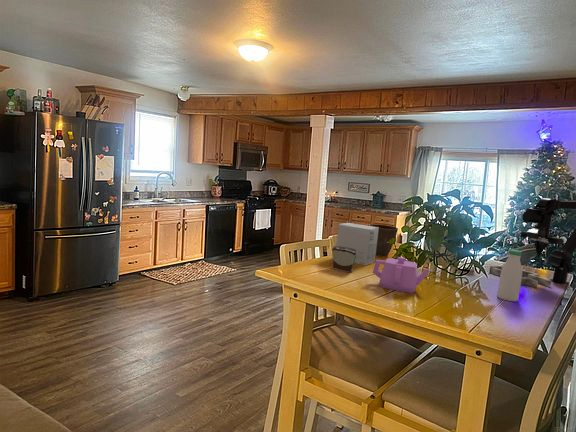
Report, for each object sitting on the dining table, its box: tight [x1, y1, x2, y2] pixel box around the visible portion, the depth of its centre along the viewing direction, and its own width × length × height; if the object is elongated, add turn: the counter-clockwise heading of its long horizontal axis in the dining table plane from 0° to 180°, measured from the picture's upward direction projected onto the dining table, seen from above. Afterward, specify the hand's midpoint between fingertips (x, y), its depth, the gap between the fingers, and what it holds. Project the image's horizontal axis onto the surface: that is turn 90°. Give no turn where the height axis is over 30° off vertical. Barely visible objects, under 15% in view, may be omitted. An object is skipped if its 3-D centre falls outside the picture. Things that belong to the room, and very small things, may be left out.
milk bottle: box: [496, 249, 523, 302], centre depth 169 cm, size 8×8×20 cm
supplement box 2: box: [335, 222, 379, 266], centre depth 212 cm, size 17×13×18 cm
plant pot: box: [370, 224, 399, 257], centre depth 233 cm, size 15×15×16 cm
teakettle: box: [372, 256, 431, 294], centre depth 170 cm, size 17×17×12 cm
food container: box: [331, 245, 358, 274], centre depth 191 cm, size 12×6×10 cm, turn 58°
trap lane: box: [489, 265, 552, 288], centre depth 207 cm, size 25×21×4 cm
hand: (538, 254), depth 207 cm, fingers closed
